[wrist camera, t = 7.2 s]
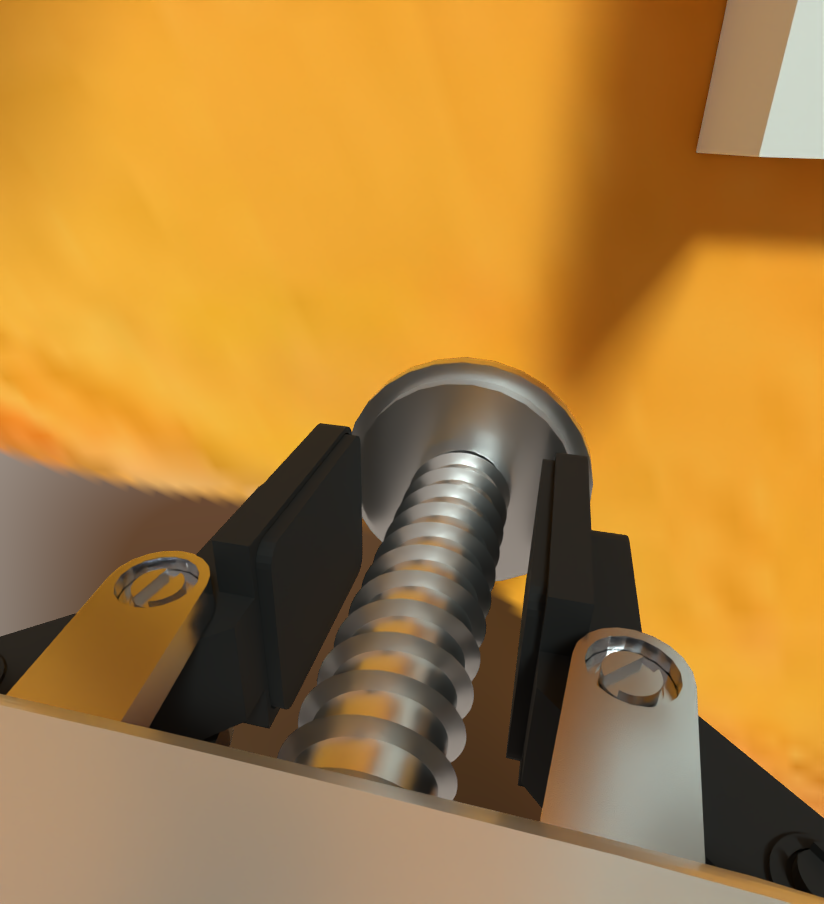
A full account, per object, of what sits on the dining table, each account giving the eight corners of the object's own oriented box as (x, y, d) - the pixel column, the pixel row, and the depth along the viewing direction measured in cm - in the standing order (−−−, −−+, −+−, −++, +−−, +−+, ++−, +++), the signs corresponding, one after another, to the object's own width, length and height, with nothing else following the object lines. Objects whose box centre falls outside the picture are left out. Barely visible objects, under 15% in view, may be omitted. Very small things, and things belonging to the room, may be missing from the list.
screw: (624, 369, 13) (547, 554, 15) (398, 304, 13) (358, 492, 15) (1082, 2413, 1) (461, 1862, 4) (-754, 1341, 2) (-251, 1468, 4)
